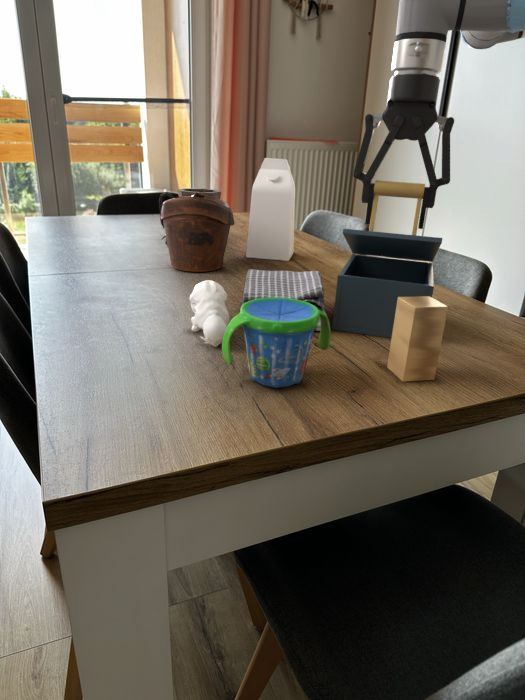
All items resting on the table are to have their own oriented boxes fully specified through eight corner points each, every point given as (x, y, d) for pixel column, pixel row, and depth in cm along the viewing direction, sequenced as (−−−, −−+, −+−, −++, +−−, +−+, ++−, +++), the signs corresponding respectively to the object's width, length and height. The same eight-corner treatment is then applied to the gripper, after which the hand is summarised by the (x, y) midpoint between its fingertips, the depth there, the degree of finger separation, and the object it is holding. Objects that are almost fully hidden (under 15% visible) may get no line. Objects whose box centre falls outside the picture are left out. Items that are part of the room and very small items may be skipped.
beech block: (416, 365, 78) (429, 296, 74) (434, 379, 74) (448, 306, 69) (386, 367, 77) (397, 296, 73) (402, 381, 72) (415, 307, 68)
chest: (423, 342, 87) (434, 286, 84) (331, 329, 91) (337, 275, 88) (424, 310, 105) (432, 262, 101) (347, 300, 109) (352, 253, 105)
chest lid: (441, 242, 81) (451, 181, 81) (342, 233, 85) (351, 174, 85) (432, 261, 101) (440, 212, 101) (352, 253, 105) (359, 205, 104)
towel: (318, 303, 106) (321, 265, 103) (327, 334, 89) (331, 290, 86) (244, 299, 106) (246, 261, 103) (239, 330, 89) (241, 286, 86)
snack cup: (232, 401, 65) (234, 325, 61) (212, 367, 74) (212, 299, 70) (343, 388, 70) (351, 317, 66) (311, 358, 79) (317, 294, 75)
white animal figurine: (225, 276, 87) (239, 303, 77) (224, 322, 91) (236, 353, 81) (188, 276, 86) (197, 304, 76) (188, 323, 90) (196, 355, 80)
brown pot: (209, 255, 143) (210, 188, 136) (247, 271, 128) (250, 197, 121) (148, 260, 133) (145, 189, 127) (181, 279, 118) (180, 198, 111)
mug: (222, 236, 171) (223, 189, 165) (218, 244, 159) (218, 193, 153) (164, 233, 171) (162, 186, 166) (154, 240, 159) (153, 190, 153)
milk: (293, 252, 152) (300, 159, 142) (288, 260, 142) (295, 160, 132) (253, 249, 154) (257, 157, 144) (246, 257, 143) (249, 157, 134)
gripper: (344, 70, 78) (329, 222, 87) (490, 73, 73) (459, 234, 82) (350, 76, 85) (336, 217, 93) (485, 79, 80) (457, 228, 88)
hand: (394, 225), depth 88 cm, fingers closed on chest lid, 8 cm apart
